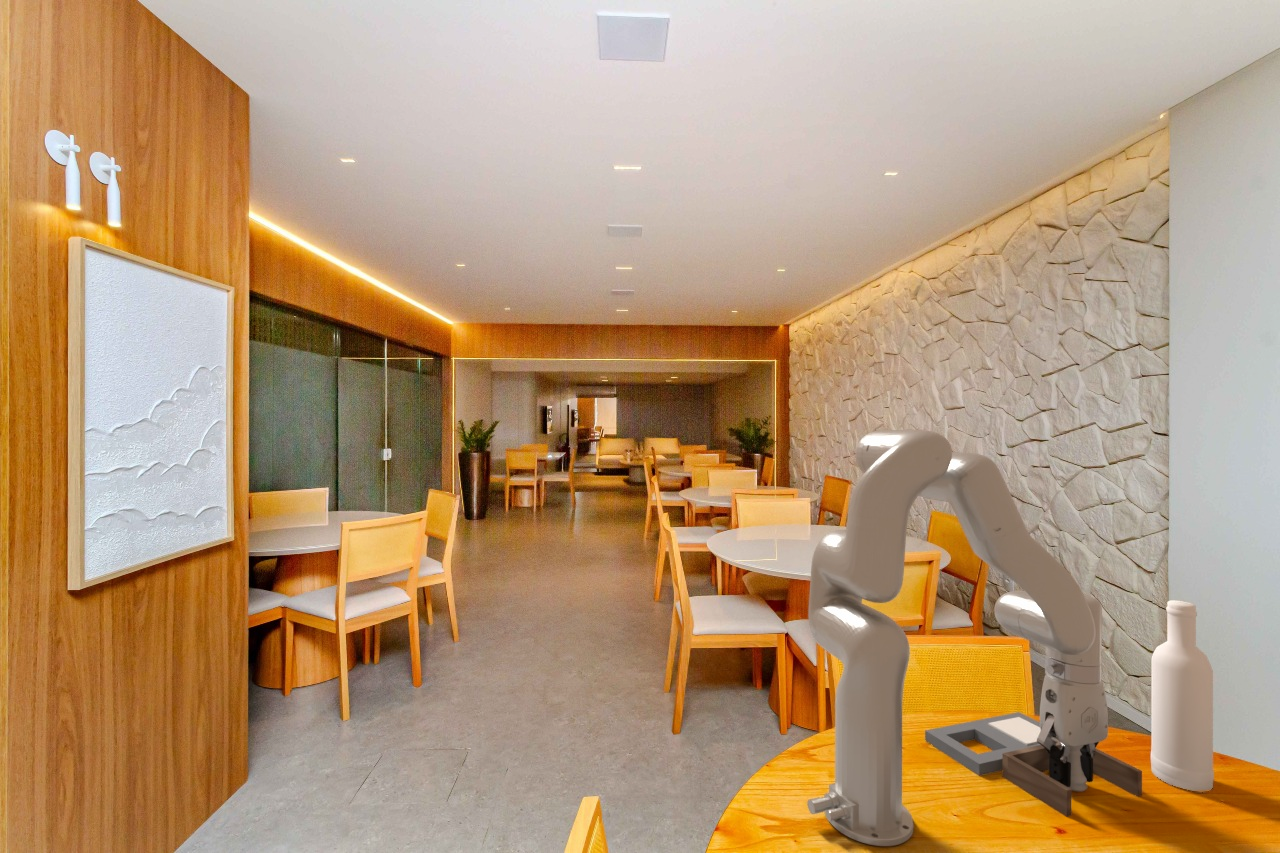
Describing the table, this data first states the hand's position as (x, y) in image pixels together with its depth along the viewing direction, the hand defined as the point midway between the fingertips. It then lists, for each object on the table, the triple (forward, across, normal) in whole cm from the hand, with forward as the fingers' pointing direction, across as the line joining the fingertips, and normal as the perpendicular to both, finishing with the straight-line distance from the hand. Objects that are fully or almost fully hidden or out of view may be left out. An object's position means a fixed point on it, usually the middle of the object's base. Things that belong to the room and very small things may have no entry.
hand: (1070, 778), depth 99 cm
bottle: (+1, +21, -4) cm, 21 cm away
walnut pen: (+2, +1, 0) cm, 2 cm away
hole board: (+2, +1, +13) cm, 14 cm away
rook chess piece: (+1, 0, 0) cm, 1 cm away
